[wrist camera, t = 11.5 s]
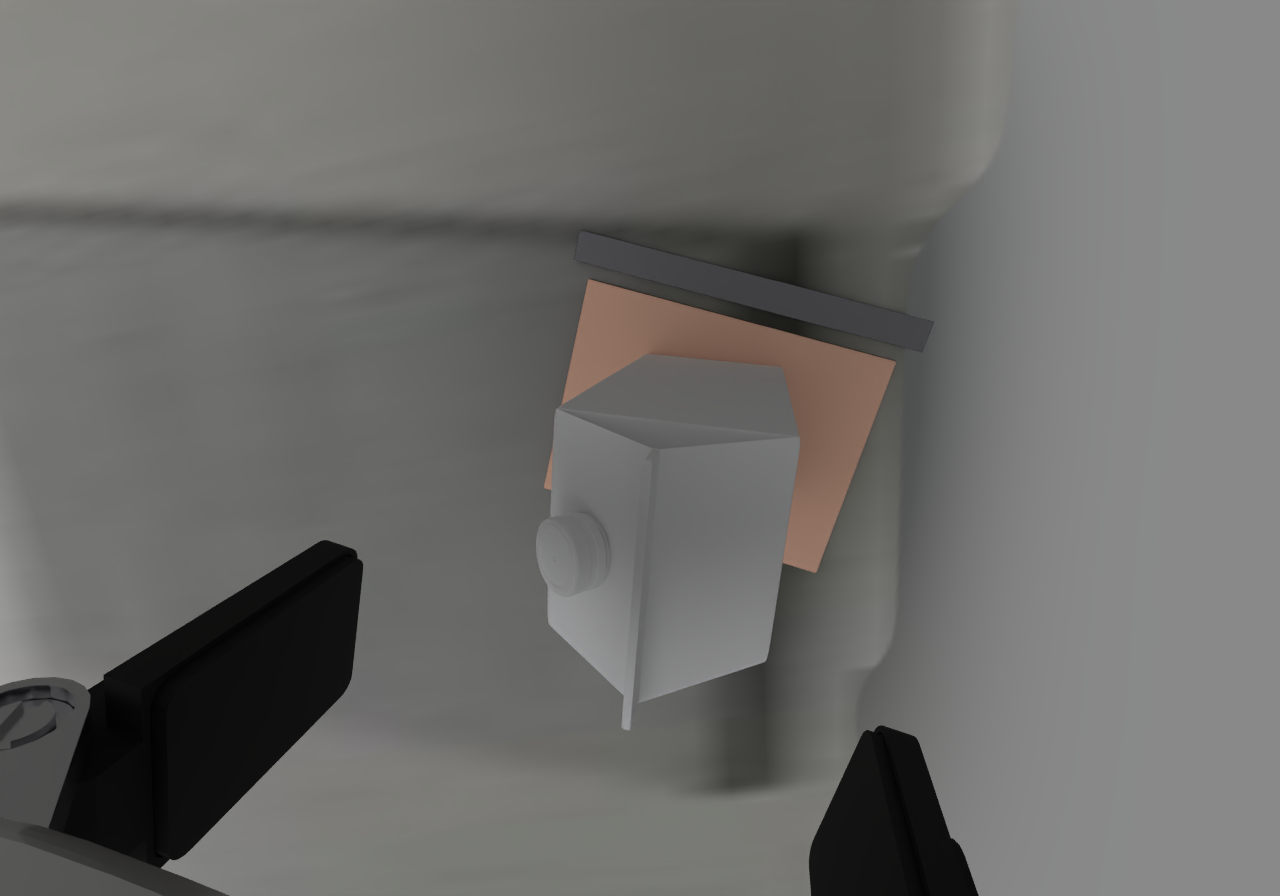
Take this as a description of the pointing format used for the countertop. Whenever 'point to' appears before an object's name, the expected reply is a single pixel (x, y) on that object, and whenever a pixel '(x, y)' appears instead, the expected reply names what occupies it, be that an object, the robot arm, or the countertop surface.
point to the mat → (814, 370)
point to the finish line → (754, 291)
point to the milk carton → (670, 521)
